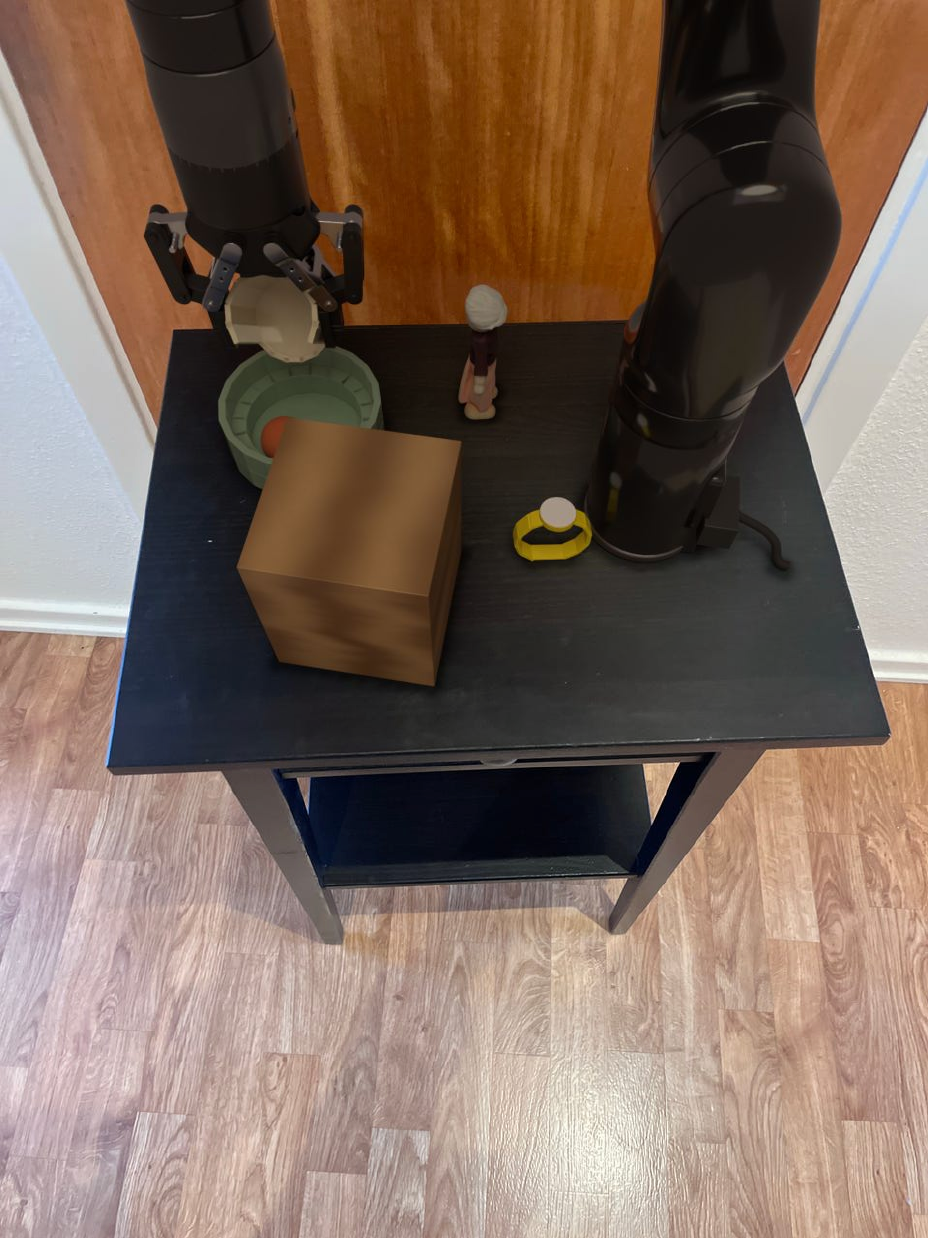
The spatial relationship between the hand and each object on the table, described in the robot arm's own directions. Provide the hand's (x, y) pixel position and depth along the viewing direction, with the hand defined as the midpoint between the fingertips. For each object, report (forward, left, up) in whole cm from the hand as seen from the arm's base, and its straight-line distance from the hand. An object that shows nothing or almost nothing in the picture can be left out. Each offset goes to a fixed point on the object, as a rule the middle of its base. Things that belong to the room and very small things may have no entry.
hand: (283, 339), depth 63 cm
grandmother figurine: (-14, -7, -13) cm, 20 cm away
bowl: (0, -1, -13) cm, 13 cm away
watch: (-22, +7, -13) cm, 26 cm away
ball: (+1, +2, -10) cm, 10 cm away
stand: (-9, +14, -13) cm, 21 cm away
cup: (+1, -4, -2) cm, 5 cm away
